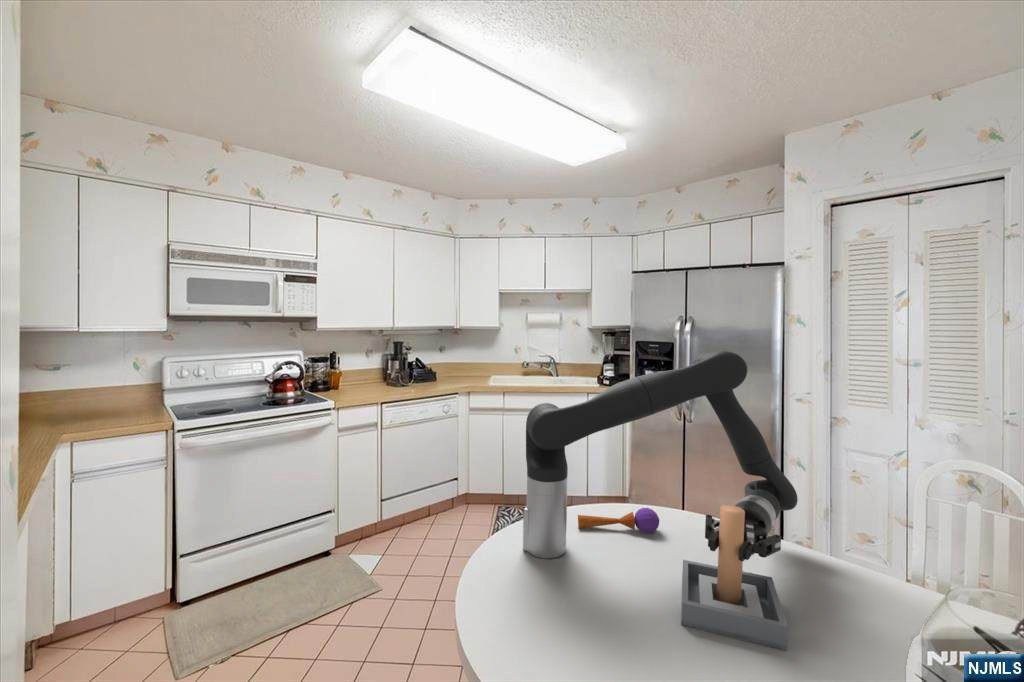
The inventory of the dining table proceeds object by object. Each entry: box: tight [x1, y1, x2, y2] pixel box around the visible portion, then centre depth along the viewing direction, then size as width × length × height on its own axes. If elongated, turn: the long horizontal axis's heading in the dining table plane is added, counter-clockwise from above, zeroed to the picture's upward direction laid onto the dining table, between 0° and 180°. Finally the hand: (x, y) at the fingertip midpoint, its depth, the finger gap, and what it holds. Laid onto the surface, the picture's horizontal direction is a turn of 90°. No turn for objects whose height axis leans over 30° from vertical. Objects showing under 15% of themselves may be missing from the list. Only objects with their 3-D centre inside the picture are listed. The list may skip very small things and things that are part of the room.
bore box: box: [680, 559, 789, 652], centre depth 83 cm, size 16×15×4 cm
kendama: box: [577, 507, 660, 534], centre depth 113 cm, size 6×6×20 cm
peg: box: [717, 504, 745, 606], centre depth 82 cm, size 4×4×17 cm
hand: (726, 550), depth 80 cm, fingers open, 4 cm apart
